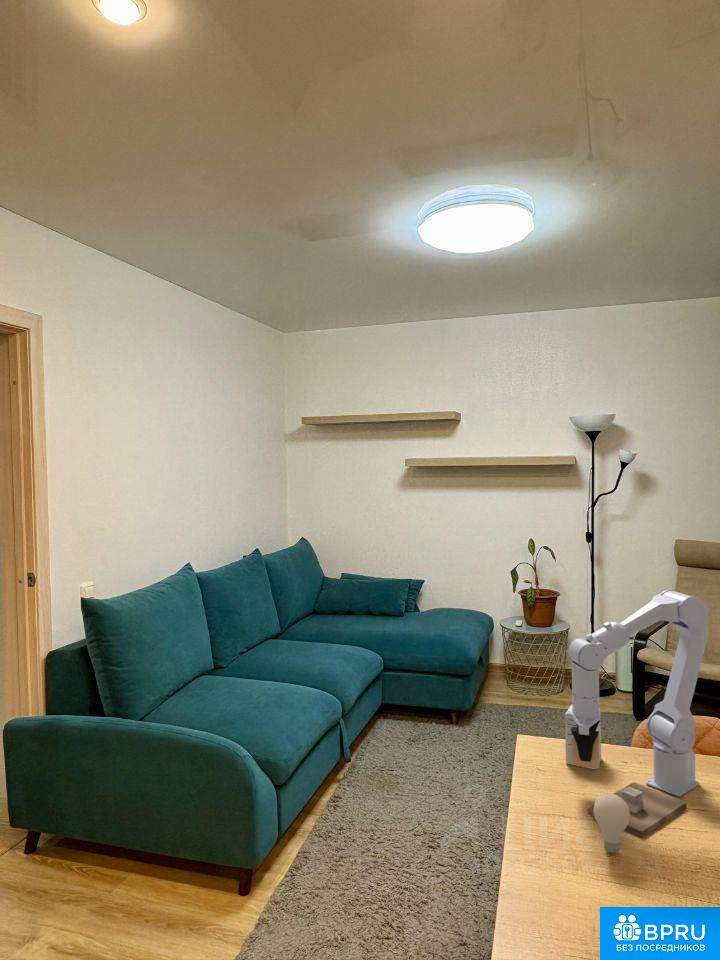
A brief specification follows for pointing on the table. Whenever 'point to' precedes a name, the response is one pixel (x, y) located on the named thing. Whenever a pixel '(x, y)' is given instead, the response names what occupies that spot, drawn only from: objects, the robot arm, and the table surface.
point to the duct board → (647, 808)
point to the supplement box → (568, 735)
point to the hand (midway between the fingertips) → (586, 754)
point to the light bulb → (611, 819)
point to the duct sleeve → (594, 759)
